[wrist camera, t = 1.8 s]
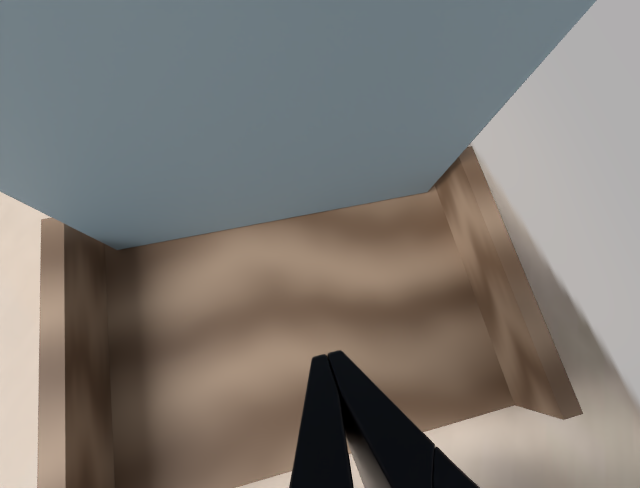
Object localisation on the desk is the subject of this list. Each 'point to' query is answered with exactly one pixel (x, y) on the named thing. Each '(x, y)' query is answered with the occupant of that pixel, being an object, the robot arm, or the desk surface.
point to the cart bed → (280, 335)
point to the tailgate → (249, 104)
